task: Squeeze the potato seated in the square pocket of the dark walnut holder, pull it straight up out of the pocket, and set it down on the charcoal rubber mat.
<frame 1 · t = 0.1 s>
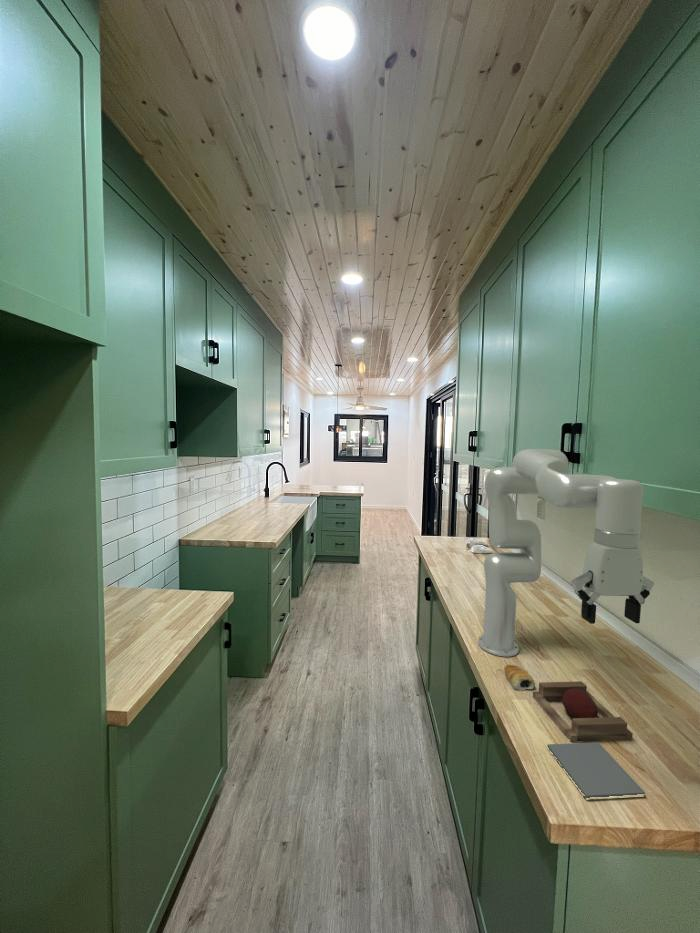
hand: (609, 620, 77), 31 cm above the countertop, tool pointing down, fingers open, 9 cm apart
potato: (578, 717, 93), resting in holder
mat: (592, 771, 77), on the countertop
holder: (578, 716, 93), on the countertop
pastry: (517, 683, 106), on the countertop
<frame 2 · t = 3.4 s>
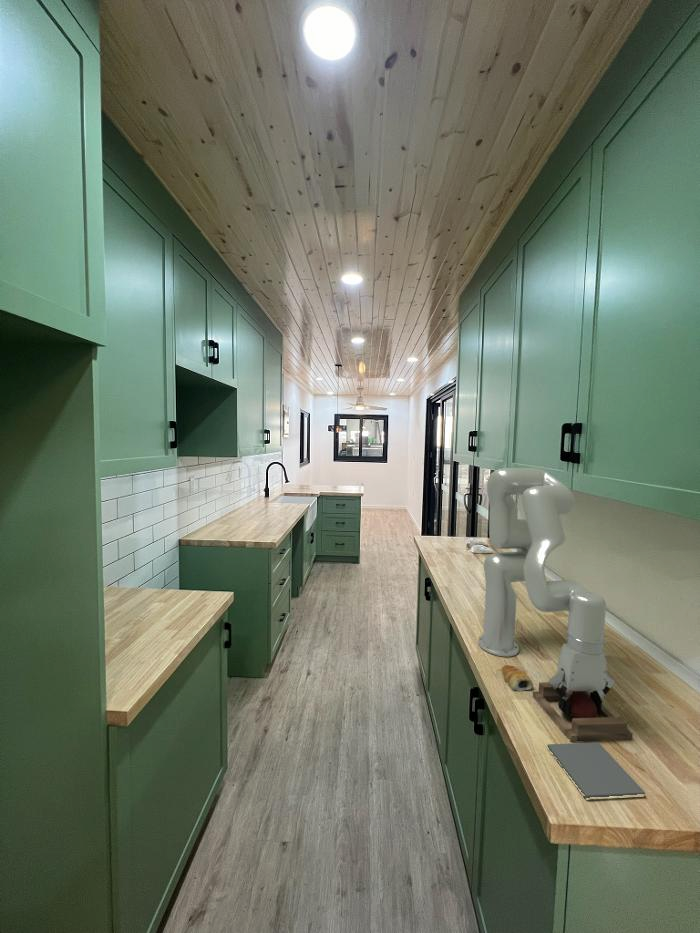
hand: (579, 711, 92), 1 cm above the countertop, tool pointing down, fingers closed on potato, 7 cm apart
potato: (578, 717, 93), resting in holder, touching gripper
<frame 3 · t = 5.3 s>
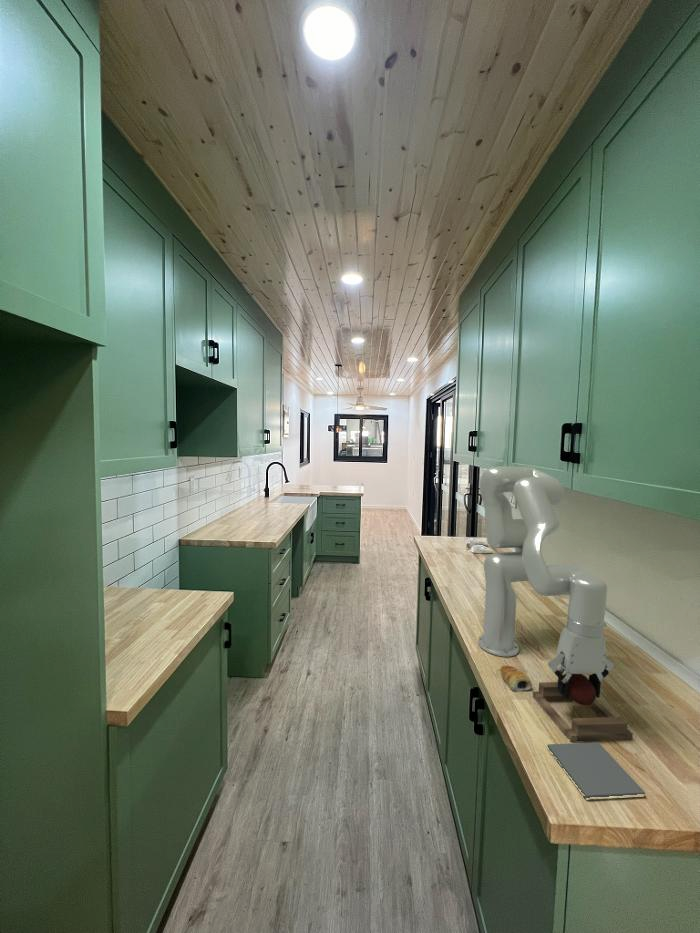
hand: (578, 693, 93), 5 cm above the countertop, tool pointing down, fingers closed on potato, 7 cm apart
potato: (576, 700, 93), point 4 cm above the countertop, touching gripper
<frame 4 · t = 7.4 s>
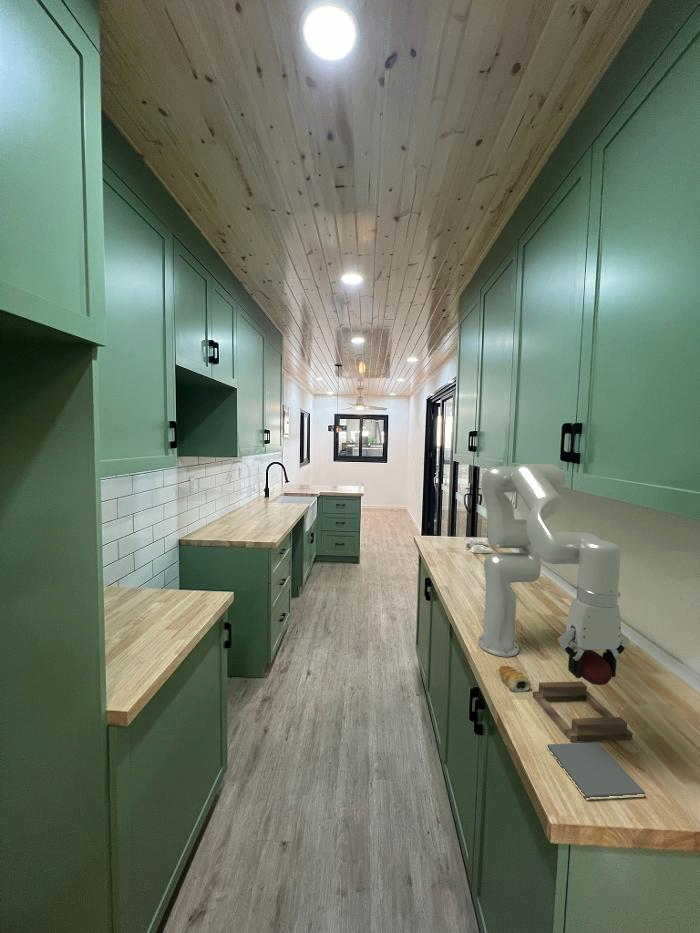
hand: (591, 673, 83), 16 cm above the countertop, tool pointing down, fingers closed on potato, 7 cm apart
potato: (590, 680, 84), point 15 cm above the countertop, touching gripper
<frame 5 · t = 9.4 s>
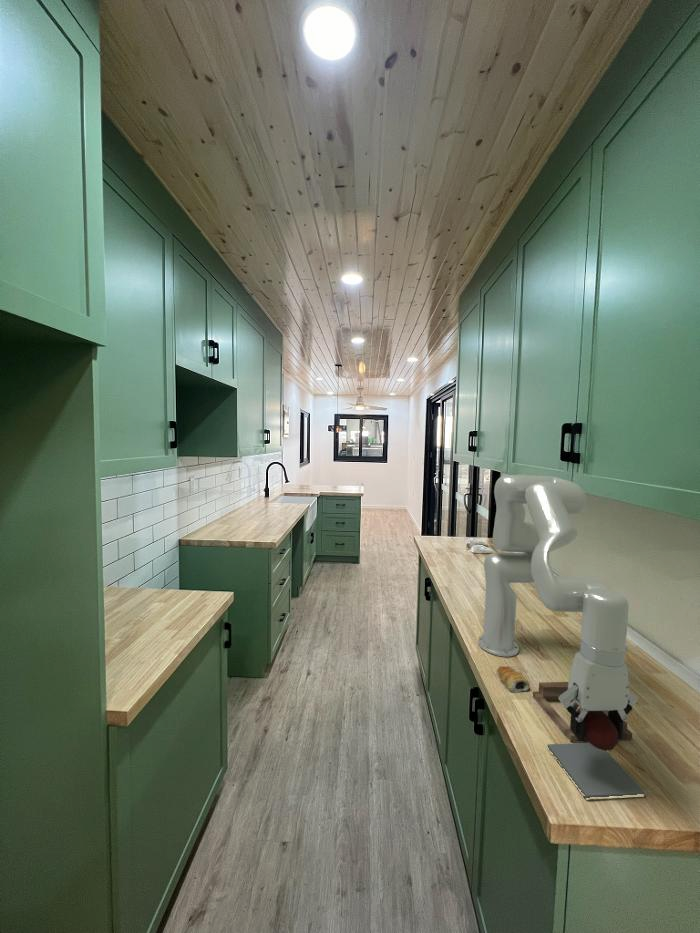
hand: (595, 734, 76), 8 cm above the countertop, tool pointing down, fingers closed on potato, 7 cm apart
potato: (594, 742, 77), point 6 cm above the countertop, touching gripper
when the fingers open (4 cm above the countertop, at t = 11.2 s): potato drops 1 cm, resting on mat.
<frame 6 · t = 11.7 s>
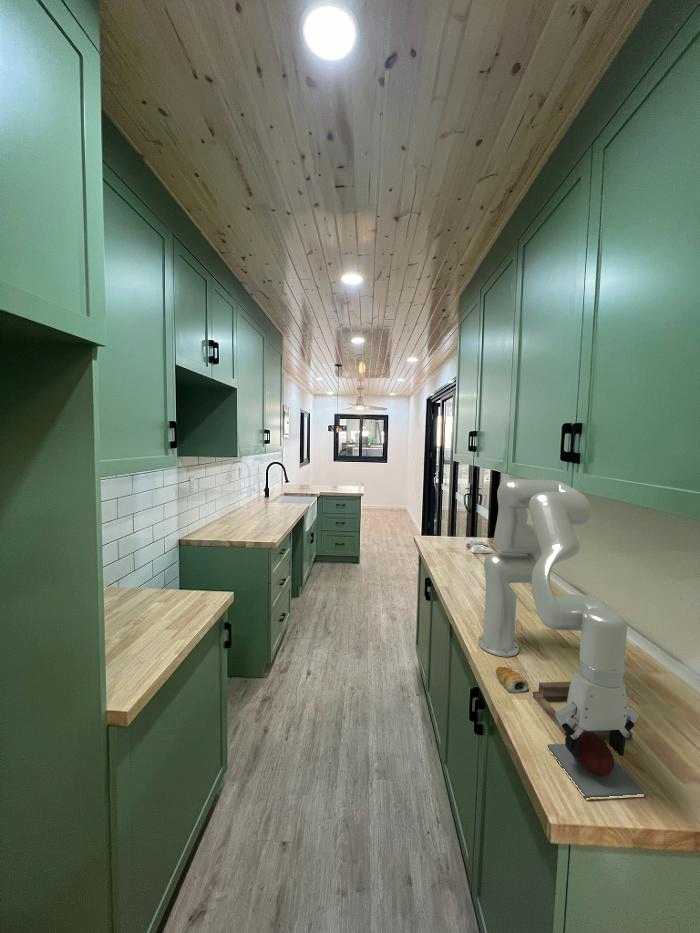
hand: (594, 751, 77), 4 cm above the countertop, tool pointing down, fingers open, 9 cm apart
potato: (590, 766, 77), point 1 cm above the countertop, touching mat
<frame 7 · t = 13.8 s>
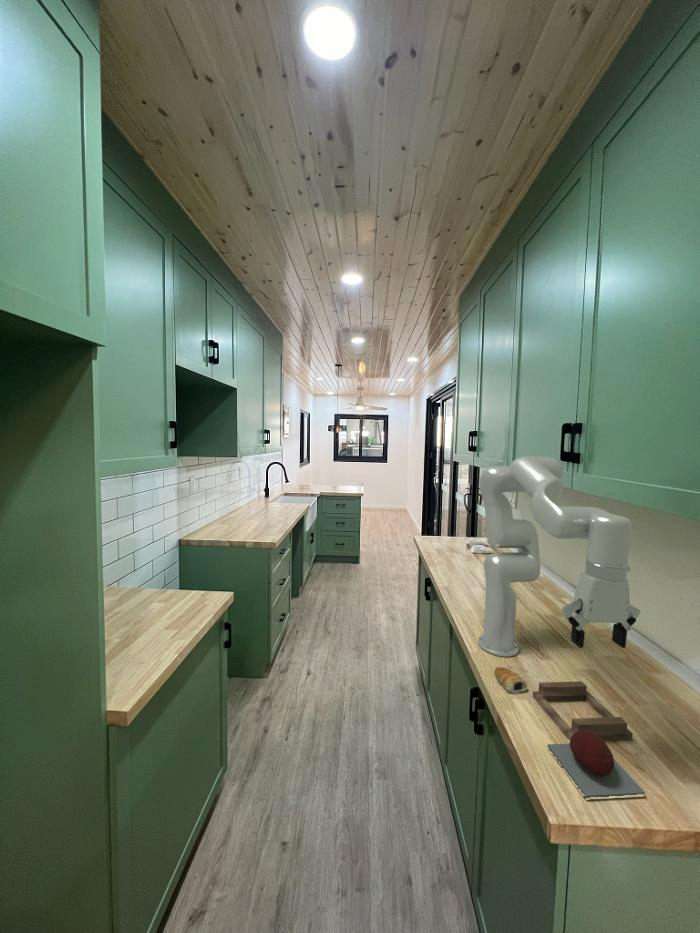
hand: (597, 644, 83), 23 cm above the countertop, tool pointing down, fingers open, 9 cm apart
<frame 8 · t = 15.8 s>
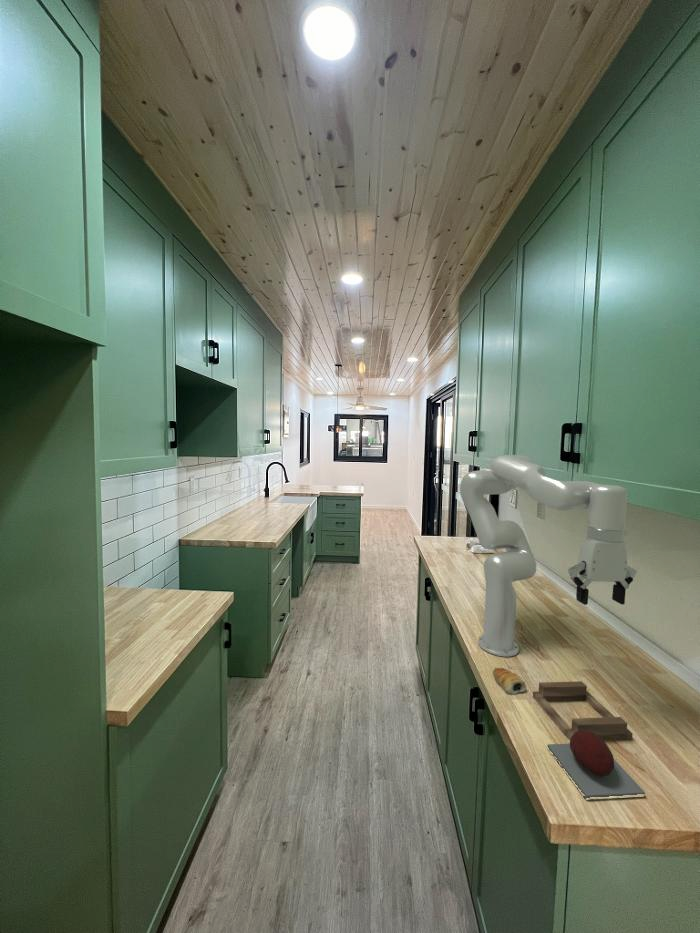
hand: (600, 602, 93), 28 cm above the countertop, tool pointing down, fingers open, 9 cm apart
at the end: potato inside the target area on the mat (0.4 cm from its centre), point 0.8 cm above the mat's base; the gripper is holding nothing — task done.
